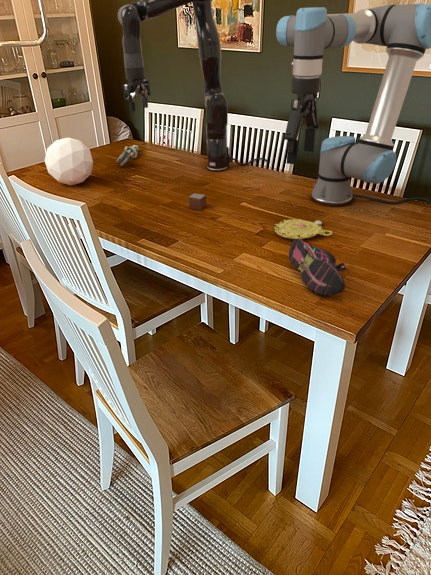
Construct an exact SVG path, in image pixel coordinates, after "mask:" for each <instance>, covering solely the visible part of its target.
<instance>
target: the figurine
mask: <svg viewBox="0 0 431 575" xmlns="http://www.w3.org/2000/svg"><path fill="white" fill-rule="evenodd" d="M139 148H140V146H139V145H138V144H133V145H130V146H125V147H124V151H122V153H121V154H119V157H118V158H117V159H116V162H115V163H117V164H119V163H120V162H121V163H120V165H119V166H120V167H124V165H126V163H128V162H129V161H130V160H131V159H132V158H133V159H136V158H137V157H138V153H139V151H140V149H139Z"/></svg>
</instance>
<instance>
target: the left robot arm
mask: <svg viewBox="0 0 431 575" xmlns="http://www.w3.org/2000/svg"><path fill="white" fill-rule="evenodd" d="M188 4H192V8H193V13H194V20H195V31H196V32H195V33H196V39H197V50H198V57H199V63H200V68H201V73H202V77H203V78H202V79H203V90H204V92H203V94H204V95H203V96H204V106H205V110H206V124H205V128H206V129H205V134H206V158H207V159H206V160H207V163H206V165H207V166H206V167H207V170H208V171H212V172H223V171H226V170H227V169H229V168H230V164H232V163H233V161H234V162H236V164H237V165H238V166H248V165H251V163H252V162H256V161H261V160H262V161H264V162H265V163H266V162H269V160H268V159H267V158H265V157H256V158H253V159H251V160H249V161H248V162H243V163H242V162H240V161H239V160H238V159H236V158H234V157H233V155H231V154H230V148H229V146H228V121H229V120H228V116H229V111H228V109H229V106H228V99H227V97H226V96H225V94H224V91H223V86H222V79H221V70H222V45H221V38H220V34H219V30H218V27H217V25H216V22H215V19H214V15H213V7H212V0H136V1H133V2H130V3H127V4H125V5H123V6H121V7H120V8H119V9H118V12H117V19H118V20H117V21H118V22H119V23H120V25H121V26H122V50H123V63H124V72H125V79H126V80H127V81H128V83H124V84H123V85H122V87H123V96H124V97H123V99H124V102H125V101H126V102H128V107H129V111H130V112H131V113H135V112H136V111H137V110H136V102H135V100H136V97H137V96H138V95H140V97H141V103H142V108H143V109H147V108H149V101H148V98H149V96H151V87H150V81H149V79H146V71H145V62H144V56H143V49H142V40H141V34H142V33H141V30H142V29H141V28H142V22H144V21H148V20H153V19H155V18H158V17H160V16H163V15H165V14H167V13H169V12H172V11H174V10H176V9H178V8H181V7H183V6H186V5H188Z"/></svg>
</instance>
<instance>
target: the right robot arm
mask: <svg viewBox="0 0 431 575" xmlns="http://www.w3.org/2000/svg"><path fill="white" fill-rule="evenodd" d="M275 30H276V32H275V36H276V40H277V42H278V43H279V44H280V45H281V46H285V47H288V48H289V47H293V60H292V62H291V63H290V64H291V66H292V75H293V77H292V78H291V87H290V88H291V89H290V91H291V93H292V94H294V95H296V99H291V101H290V111H289V115H288V120H287V124H286V128H285V129H286V130H285V133H284V136H283V137H284V138H283V139H284V141H287V145H286V146H287V147H286V164H289V165H294V166H295V165H297V161H298V152H299V151H298V150H299V139H298V137H299V135H300V134H299V133H300V130H301V127H302V124H303V121H304V120H305V124H306V128H305V130H304V143H303V152H309V153H314V148H315V138H316V136H315V135H316V129H319V127H320V125H319V122H320V121H319V108H318V96H319V95H318V94H319V93H320V91H321V82H322V81H321V80H322V78H321V77H320V76H321V75H322V72H323V60H324V58H323V57H324V50H327V49H328V50H329V49H341V48H343V47H344V48H345V47H347V46H348V45H350V44H351V43H352V42H354V43H356V44H358V45H360V44H365V45H372V46H373V45H374V46H380V47H386V49H385V52H386V54H387V56H388V59H387V62H386V64H385V69H384V72H383V75H382V78H381V83H380V84H379V88H378V92H377V95H376V98H375V102H374V105H373V108H372V112H371V114H370V119H369V122H368V125H367V127H366V132H365V133H364V135H362V136H361V137H359V139H358V142H357V140H356V137H355V136H352V135H337V136H331V137H328V138H325V139H324V140H323V141H322V142H321V148H320V152H319V154H320V155H319V165H318V176H317V180H314V181H312V186H314V187H313V190H312V192H311V200H312V201H313V202H314V203H316V204H318V205H322V206H327V207H342V206H346V205H350V204H351V203H352V201H353V197H355V198H360V199H365V200H371V201H375V202H380V203H384V204H390V205H398V204H401V203H403V202H406V201H407V202H408V201H424V202H426V203H427V204H428V205H431V201H430V200H429V199H427V198H425V197H406V198H402V199H400V200H397V201H390V200H386V199H382V198H381V199H380V198H377V197H376V198H375V197H370V196H366V195H360V194H356V193H355V194H354V193H353V190H352V185H351V179H354V180H358V181H360V182H361V181H362V182H364V183H367V184H374V185H378V184H382V183H383V182H385V181H386V180H387V179H388V178H389V177H390V175H391V174H392V172H393V171H394V169H395V166H396V163H397V153H396V152H395V151H394V147H395V145H394V142H393V140H392V138H393V135H394V132H395V129H396V126H397V122H398V120H399V117H400V114H401V110H402V107H403V105H404V102H405V99H406V95H407V93H408V89H409V86H410V83H411V80H412V77H413V75H414V74H413V73H414V70H415V67H416V64H417V62H418V61H420V60H421V59H422V58H423V57H424V56H425V53H426V50H429V49H431V3H428V4H427V3H423V2H420V3H412V4H411V3H408V4H407V3H406V4H386V5H380V6H376V7H371V8H363V9H362V8H361V9H359V10H358V11H356V12H353V13H351V12H350V13H349V12H348V13H328V9H327V8H326V7H322V6H321V7H319V6H318V7H317V6H316V7H300V8H298V9H297V11H296V14H295V15H294V14H291V15H285V16H282V17H281V18H280V19H279V20H278V22H277V25H276V29H275ZM356 142H357V143H356Z"/></svg>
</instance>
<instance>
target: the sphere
mask: <svg viewBox="0 0 431 575" xmlns="http://www.w3.org/2000/svg"><path fill="white" fill-rule="evenodd" d="M44 163H45V166H46V169H47V172H48V174H49V175H50V176H51V177H53V178H54V179H55V180H56V181H57V182H58V183H60V184H64V185H66V186H70V187H71V186H74V185H77V184H81V183H83V182H84V181H85V180H86V179H88V178H89V177H90V176H91V175H92V171H93V166H94V159H93V155H92V153H91V149H89V148H88V147H87V146H86V144H84V142H82V141H81V140H79V139H75V138H72V137H64V138H60V139H55V141H54V142H52V144H50V145H49V146H48V147H47V149H46V153H45V157H44Z"/></svg>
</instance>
